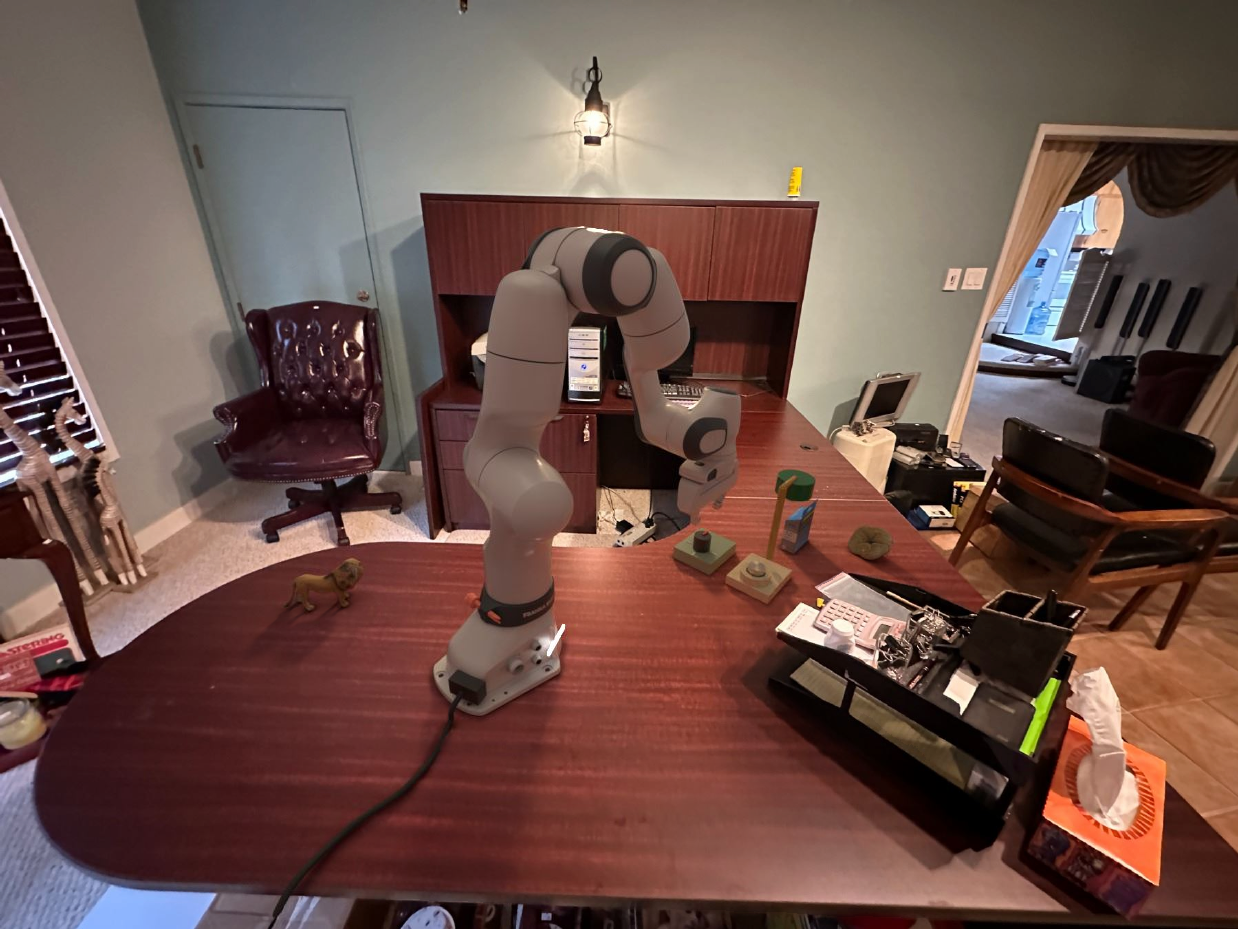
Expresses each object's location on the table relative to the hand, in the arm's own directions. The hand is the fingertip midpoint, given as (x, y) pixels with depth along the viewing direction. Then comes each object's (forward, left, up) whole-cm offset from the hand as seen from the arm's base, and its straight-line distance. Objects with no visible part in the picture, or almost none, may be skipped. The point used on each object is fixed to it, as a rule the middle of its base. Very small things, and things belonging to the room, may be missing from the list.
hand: (706, 515), depth 112 cm
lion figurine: (-64, +46, -12) cm, 80 cm away
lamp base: (+2, -14, -12) cm, 18 cm away
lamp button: (-1, -14, -8) cm, 16 cm away
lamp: (+11, -14, -8) cm, 19 cm away
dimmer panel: (+2, 0, -12) cm, 12 cm away
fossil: (+31, -29, -12) cm, 44 cm away
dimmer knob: (0, 0, -9) cm, 9 cm away
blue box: (+22, -14, -12) cm, 28 cm away
